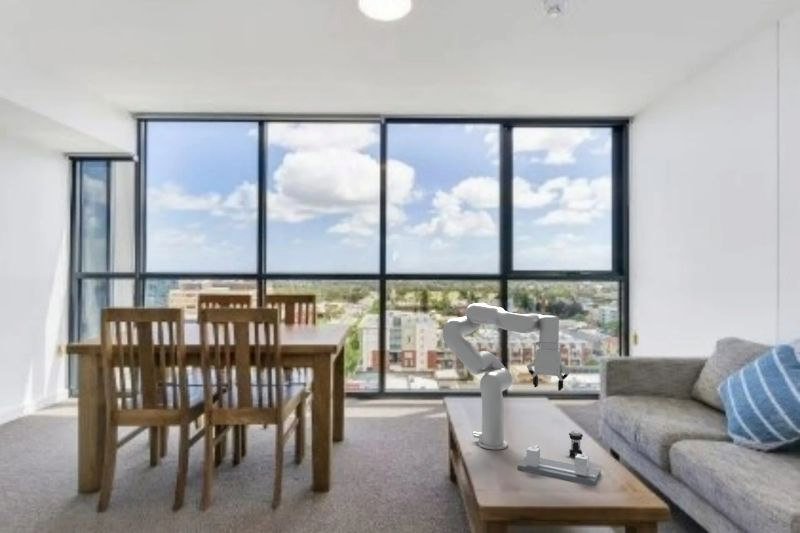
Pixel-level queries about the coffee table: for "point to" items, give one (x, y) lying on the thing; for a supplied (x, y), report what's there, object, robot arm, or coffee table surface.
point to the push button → (575, 443)
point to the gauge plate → (555, 468)
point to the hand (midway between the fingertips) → (547, 388)
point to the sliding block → (582, 464)
